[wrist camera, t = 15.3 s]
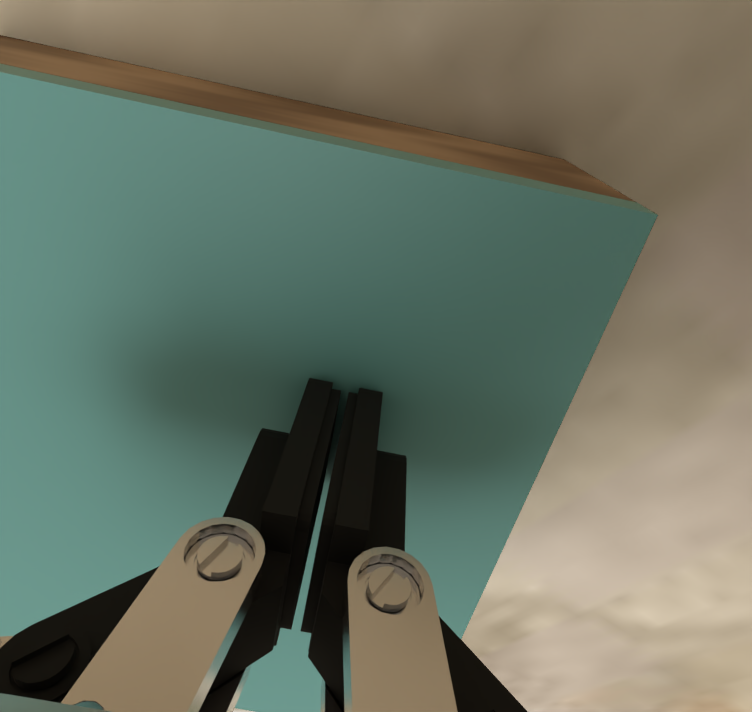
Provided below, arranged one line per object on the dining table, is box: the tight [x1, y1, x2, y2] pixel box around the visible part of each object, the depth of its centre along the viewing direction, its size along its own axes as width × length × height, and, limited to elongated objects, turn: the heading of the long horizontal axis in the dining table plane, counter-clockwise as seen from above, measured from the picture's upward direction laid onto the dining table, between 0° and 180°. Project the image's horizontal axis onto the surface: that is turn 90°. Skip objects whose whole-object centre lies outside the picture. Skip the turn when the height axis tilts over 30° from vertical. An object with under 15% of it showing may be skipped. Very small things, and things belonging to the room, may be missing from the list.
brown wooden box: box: [0, 35, 635, 202], centre depth 16 cm, size 16×19×6 cm
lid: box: [0, 64, 658, 712], centre depth 14 cm, size 16×19×1 cm
